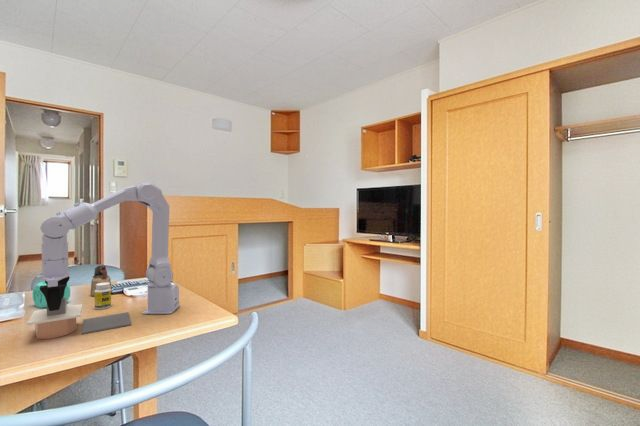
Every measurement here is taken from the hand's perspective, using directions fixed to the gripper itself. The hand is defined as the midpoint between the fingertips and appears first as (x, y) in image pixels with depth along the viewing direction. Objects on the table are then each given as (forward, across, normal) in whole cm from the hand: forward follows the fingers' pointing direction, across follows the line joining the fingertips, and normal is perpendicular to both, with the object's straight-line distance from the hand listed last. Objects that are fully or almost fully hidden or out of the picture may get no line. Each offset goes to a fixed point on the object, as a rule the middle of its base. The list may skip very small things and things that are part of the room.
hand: (56, 306), depth 89 cm
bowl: (+8, 0, 0) cm, 8 cm away
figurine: (+8, -37, +11) cm, 39 cm away
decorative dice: (+8, -32, -4) cm, 33 cm away
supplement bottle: (+8, -18, +11) cm, 23 cm away
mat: (+8, 0, +12) cm, 14 cm away
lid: (+2, 0, 0) cm, 3 cm away
